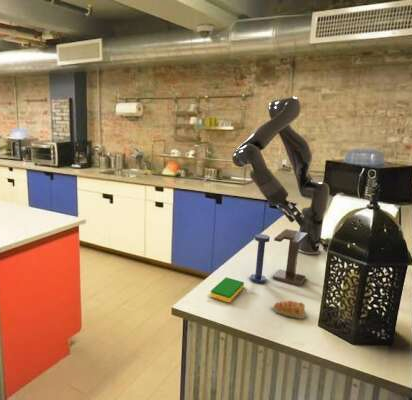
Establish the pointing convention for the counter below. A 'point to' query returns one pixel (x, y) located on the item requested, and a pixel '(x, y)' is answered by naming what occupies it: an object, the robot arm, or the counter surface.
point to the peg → (260, 258)
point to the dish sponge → (227, 289)
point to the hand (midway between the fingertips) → (298, 222)
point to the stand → (291, 257)
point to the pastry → (290, 309)
